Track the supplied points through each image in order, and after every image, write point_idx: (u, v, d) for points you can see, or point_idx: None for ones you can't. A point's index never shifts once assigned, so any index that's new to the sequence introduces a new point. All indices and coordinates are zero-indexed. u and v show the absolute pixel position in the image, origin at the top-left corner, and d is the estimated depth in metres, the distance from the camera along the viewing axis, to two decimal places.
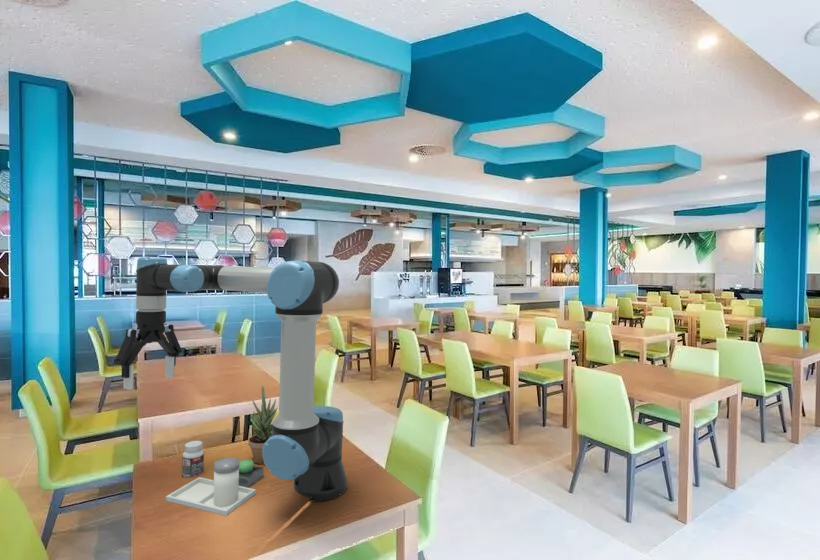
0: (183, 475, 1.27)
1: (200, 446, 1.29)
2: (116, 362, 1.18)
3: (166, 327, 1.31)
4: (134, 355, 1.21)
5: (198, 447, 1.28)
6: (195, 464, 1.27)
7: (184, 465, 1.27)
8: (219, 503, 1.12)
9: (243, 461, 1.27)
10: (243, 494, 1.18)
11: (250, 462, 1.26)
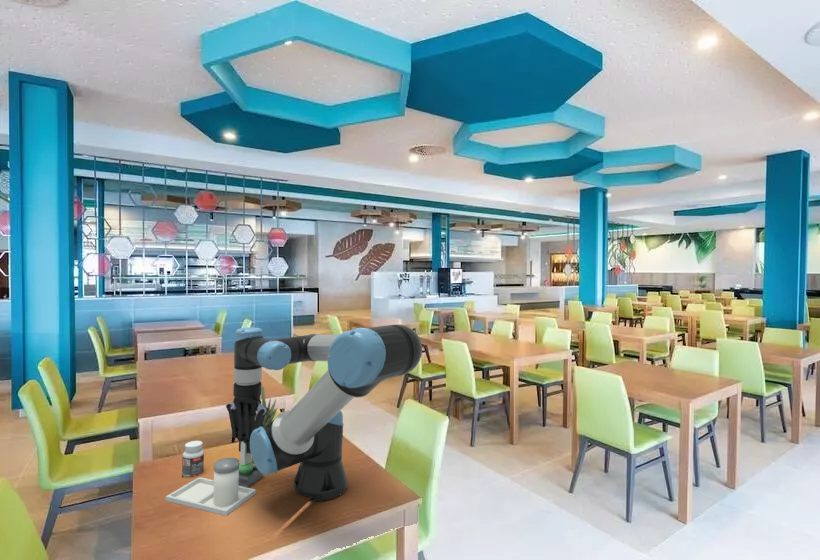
0: (183, 475, 1.27)
1: (200, 446, 1.29)
2: None
3: (259, 408, 1.24)
4: (239, 430, 1.25)
5: (198, 447, 1.28)
6: (195, 464, 1.27)
7: (184, 465, 1.27)
8: (219, 503, 1.12)
9: None
10: (243, 494, 1.18)
11: (250, 463, 1.26)
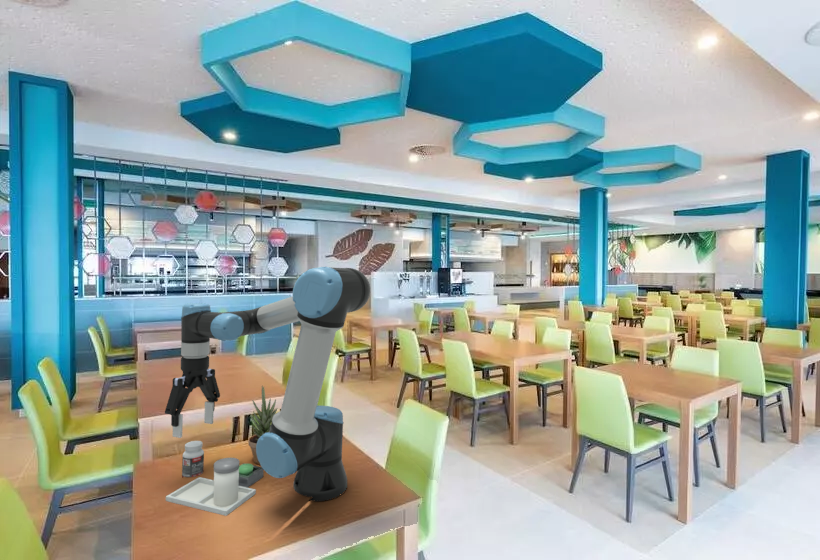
0: (183, 475, 1.27)
1: (200, 446, 1.29)
2: (167, 412, 1.20)
3: (208, 371, 1.33)
4: (182, 403, 1.23)
5: (198, 447, 1.28)
6: (195, 464, 1.27)
7: (184, 465, 1.27)
8: (219, 503, 1.12)
9: (243, 465, 1.27)
10: (243, 494, 1.18)
11: (250, 466, 1.26)
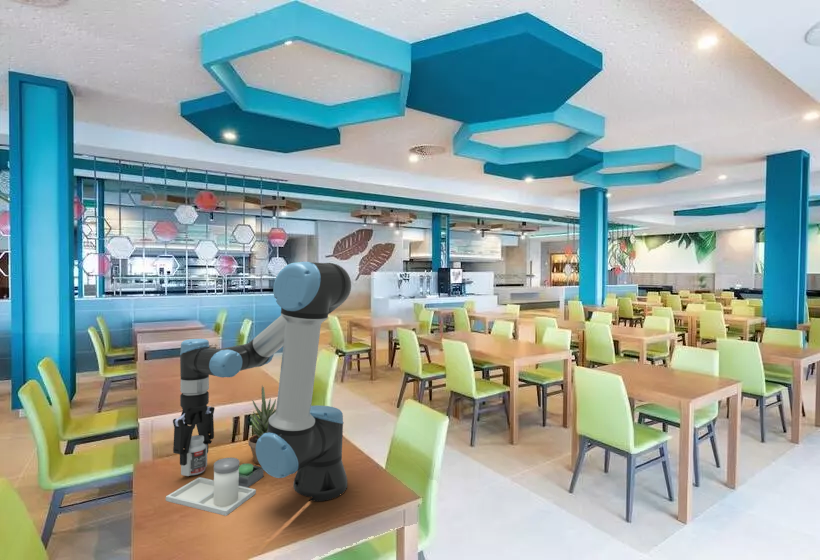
0: None
1: (202, 440, 1.29)
2: (175, 451, 1.23)
3: (208, 408, 1.34)
4: (188, 442, 1.25)
5: (199, 441, 1.28)
6: (197, 458, 1.27)
7: None
8: (219, 503, 1.12)
9: (243, 465, 1.27)
10: (243, 494, 1.18)
11: (250, 466, 1.26)
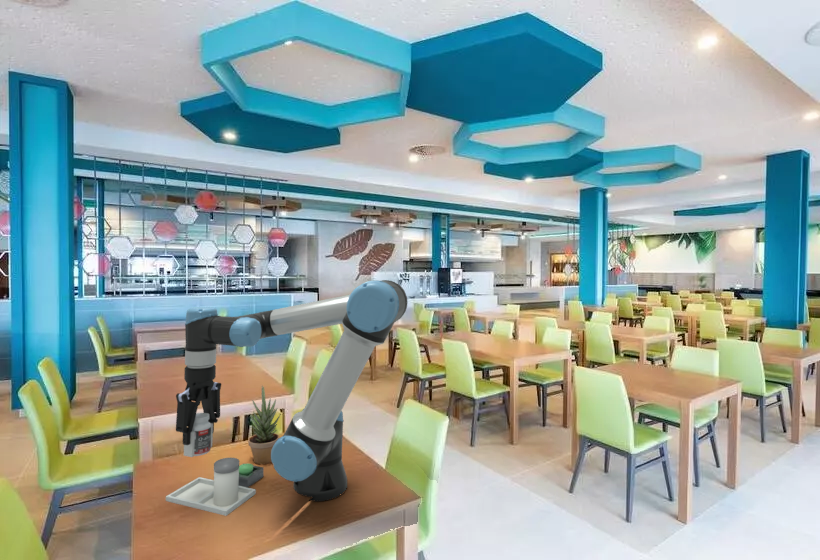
0: None
1: (207, 418, 1.17)
2: (178, 429, 1.11)
3: (214, 384, 1.22)
4: (192, 419, 1.14)
5: (204, 419, 1.16)
6: (201, 438, 1.15)
7: None
8: (219, 503, 1.12)
9: (243, 465, 1.27)
10: (243, 494, 1.18)
11: (250, 466, 1.26)
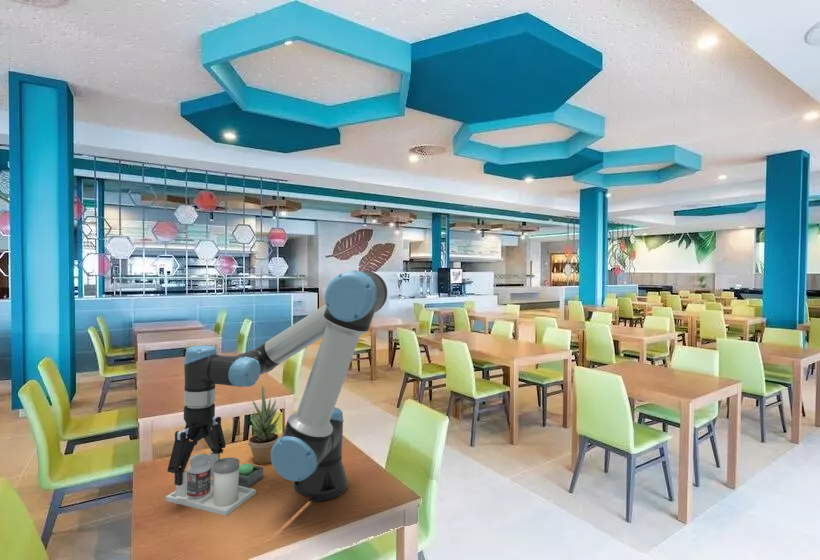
0: (188, 492, 1.15)
1: (207, 460, 1.17)
2: (169, 470, 1.09)
3: (214, 420, 1.22)
4: (186, 459, 1.12)
5: (204, 461, 1.16)
6: (201, 480, 1.15)
7: (189, 481, 1.15)
8: (219, 503, 1.12)
9: (243, 465, 1.27)
10: (243, 494, 1.18)
11: (250, 466, 1.26)
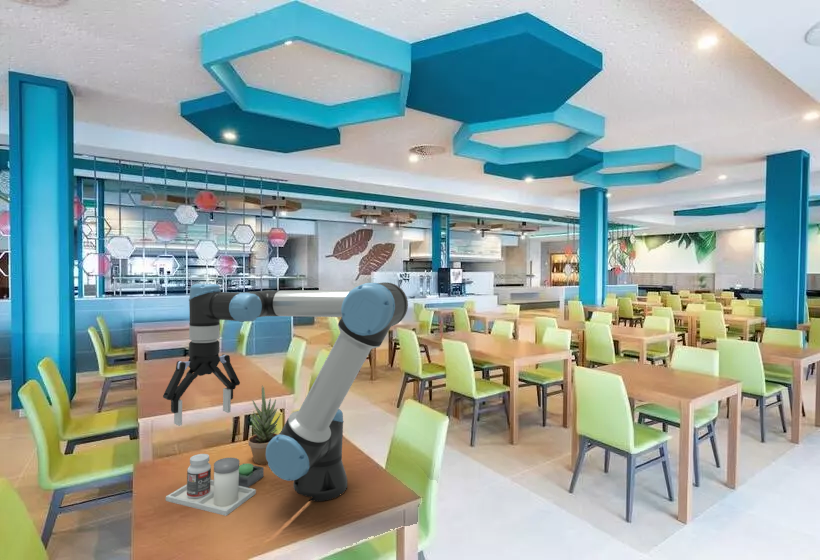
0: (188, 492, 1.15)
1: (207, 460, 1.17)
2: (164, 396, 1.12)
3: (222, 358, 1.23)
4: (183, 389, 1.14)
5: (204, 461, 1.16)
6: (201, 480, 1.15)
7: (189, 481, 1.15)
8: (219, 503, 1.12)
9: (243, 465, 1.27)
10: (243, 494, 1.18)
11: (250, 466, 1.26)
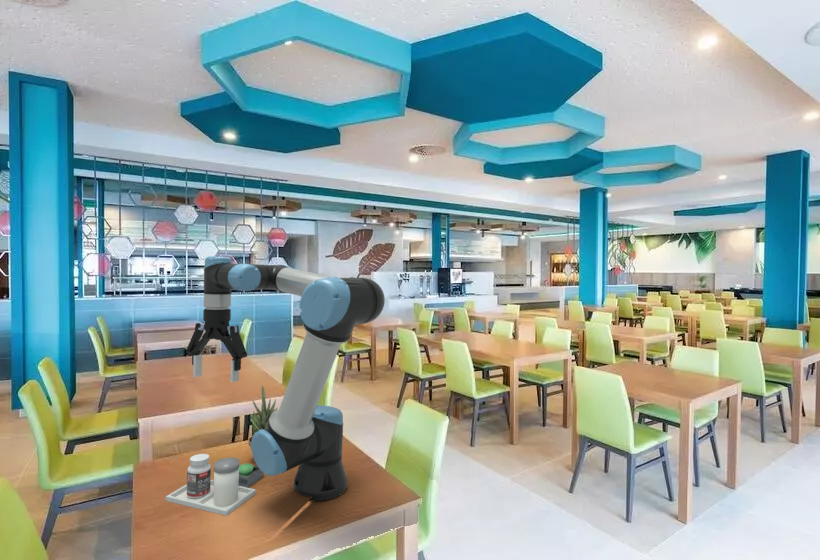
0: (188, 492, 1.15)
1: (207, 460, 1.17)
2: None
3: (229, 328, 1.29)
4: (197, 346, 1.32)
5: (204, 461, 1.16)
6: (201, 480, 1.15)
7: (189, 481, 1.15)
8: (219, 503, 1.12)
9: (243, 465, 1.27)
10: (243, 494, 1.18)
11: (250, 466, 1.26)
